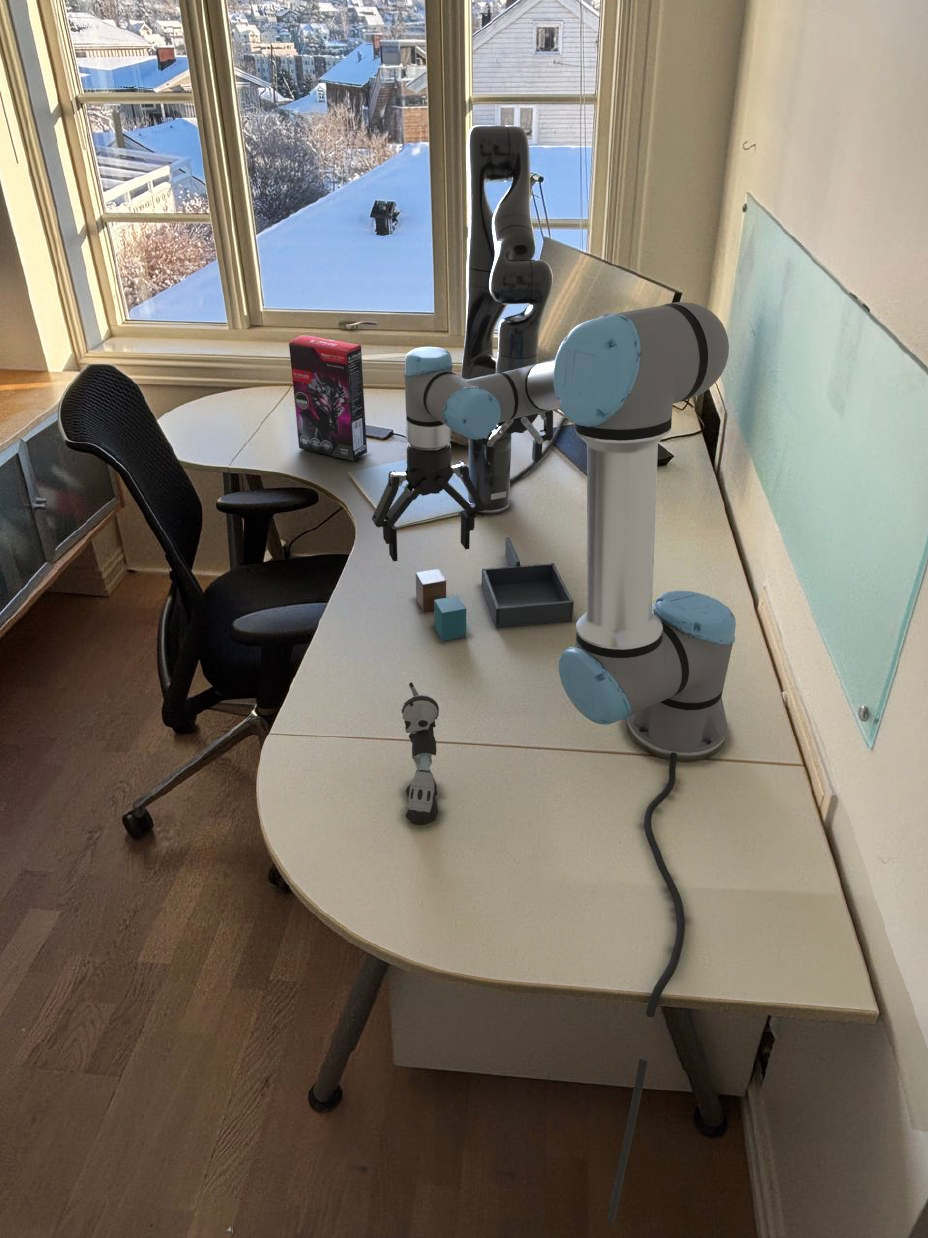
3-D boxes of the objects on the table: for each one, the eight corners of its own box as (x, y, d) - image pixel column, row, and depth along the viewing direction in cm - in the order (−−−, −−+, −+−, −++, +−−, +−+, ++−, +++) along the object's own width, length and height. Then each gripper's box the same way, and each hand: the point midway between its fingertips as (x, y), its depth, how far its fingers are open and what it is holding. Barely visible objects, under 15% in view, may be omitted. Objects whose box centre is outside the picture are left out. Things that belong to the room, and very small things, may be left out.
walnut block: (446, 607, 172) (446, 580, 168) (423, 612, 170) (422, 584, 167) (438, 595, 175) (438, 568, 172) (416, 599, 174) (415, 572, 170)
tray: (572, 621, 168) (574, 597, 165) (495, 627, 166) (496, 604, 163) (540, 555, 188) (542, 534, 185) (472, 561, 186) (472, 539, 183)
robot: (441, 856, 121) (440, 742, 110) (404, 858, 121) (400, 743, 110) (437, 755, 138) (436, 646, 127) (405, 756, 137) (401, 647, 126)
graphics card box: (296, 449, 231) (285, 340, 216) (313, 439, 236) (303, 333, 221) (353, 463, 224) (346, 352, 209) (369, 453, 229) (363, 343, 214)
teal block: (466, 636, 164) (466, 608, 160) (442, 641, 163) (442, 613, 159) (457, 623, 167) (457, 595, 164) (434, 627, 166) (434, 599, 163)
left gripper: (550, 369, 168) (544, 451, 177) (473, 372, 166) (472, 456, 175) (560, 382, 162) (554, 468, 171) (481, 386, 160) (479, 472, 169)
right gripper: (490, 424, 161) (486, 531, 173) (350, 442, 154) (357, 552, 166) (506, 441, 155) (501, 550, 167) (362, 460, 148) (367, 573, 160)
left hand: (512, 461), depth 173 cm, fingers open, 8 cm apart
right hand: (429, 551), depth 167 cm, fingers open, 13 cm apart
